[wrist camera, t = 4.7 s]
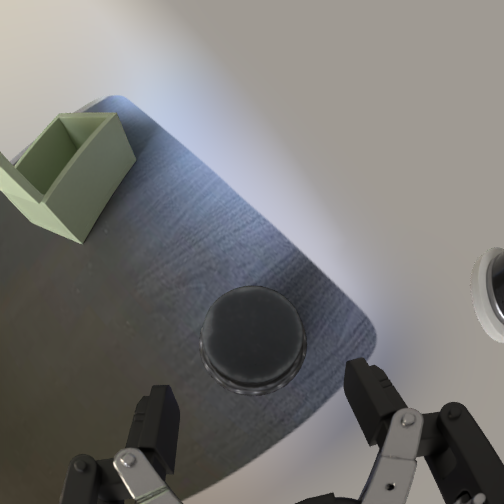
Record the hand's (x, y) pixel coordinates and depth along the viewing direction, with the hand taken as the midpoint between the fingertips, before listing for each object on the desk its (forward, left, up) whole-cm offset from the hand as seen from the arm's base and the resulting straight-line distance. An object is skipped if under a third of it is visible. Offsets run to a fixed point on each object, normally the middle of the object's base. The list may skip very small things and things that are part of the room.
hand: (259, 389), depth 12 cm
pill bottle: (-1, -3, -11) cm, 11 cm away
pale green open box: (+11, -29, -11) cm, 33 cm away
